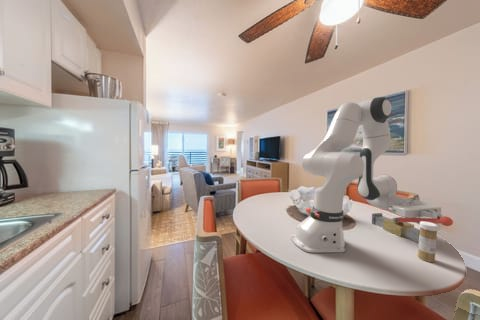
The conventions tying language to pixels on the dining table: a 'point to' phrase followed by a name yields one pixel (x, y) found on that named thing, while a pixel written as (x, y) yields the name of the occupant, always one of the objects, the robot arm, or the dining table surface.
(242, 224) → the dining table surface
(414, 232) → the valve body
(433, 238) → the sprinkles bottle
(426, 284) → the dining table surface
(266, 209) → the dining table surface
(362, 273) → the dining table surface
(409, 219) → the lever
